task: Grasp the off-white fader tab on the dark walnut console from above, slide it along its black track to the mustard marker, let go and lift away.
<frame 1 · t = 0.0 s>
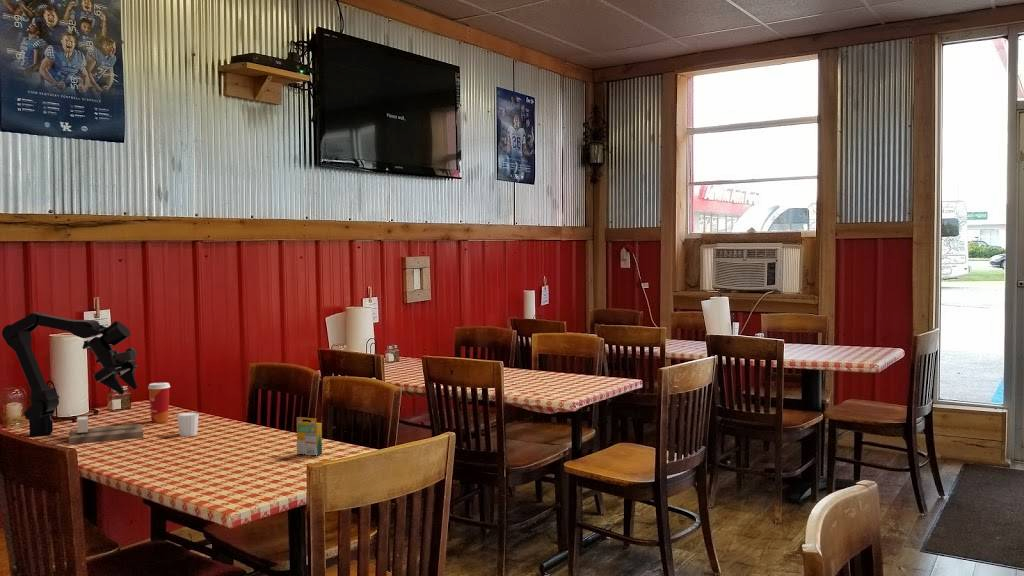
hand: (129, 391, 279), 15 cm above the table, tool tilted 35°, fingers open, 9 cm apart
crayon box: (309, 455, 250), on the table
paper cup: (159, 422, 301), on the table
white tapered cup: (188, 434, 279), on the table
fader tab: (82, 425, 272), point 5 cm above the table, slide at -7.0 cm
fader console: (106, 436, 276), on the table
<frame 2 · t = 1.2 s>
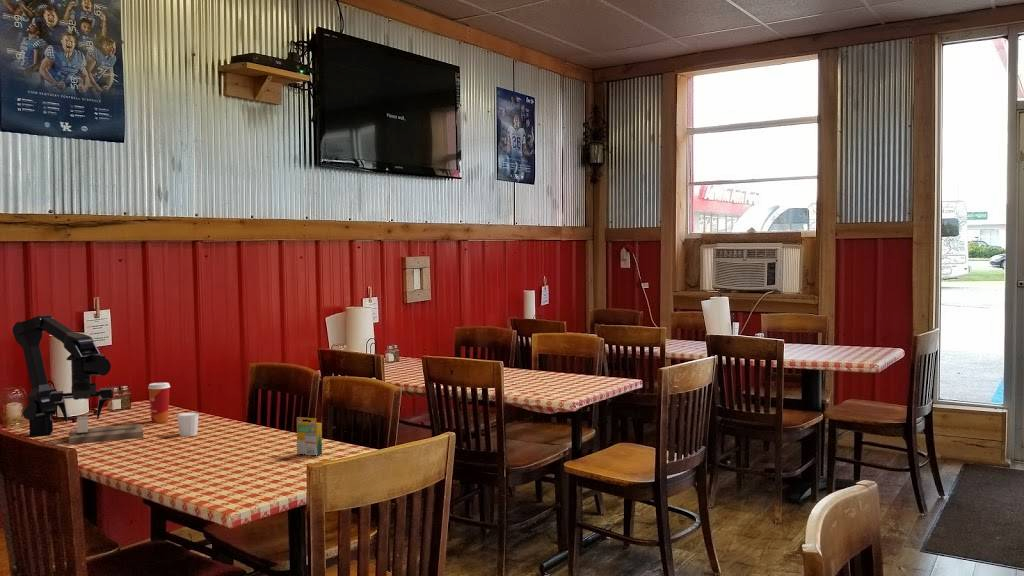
hand: (82, 420, 272), 6 cm above the table, tool pointing down, fingers open, 9 cm apart
nothing on the table moved.
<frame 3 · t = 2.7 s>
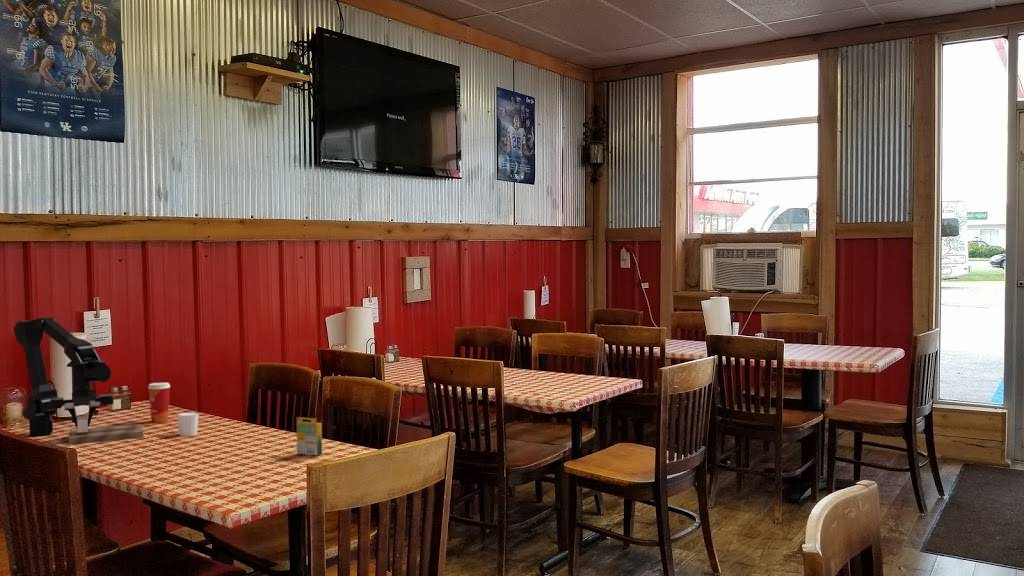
hand: (82, 427, 272), 4 cm above the table, tool pointing down, fingers closed on fader tab, 3 cm apart
fader tab: (82, 425, 272), point 5 cm above the table, slide at -7.0 cm, touching gripper
everything else where it was.
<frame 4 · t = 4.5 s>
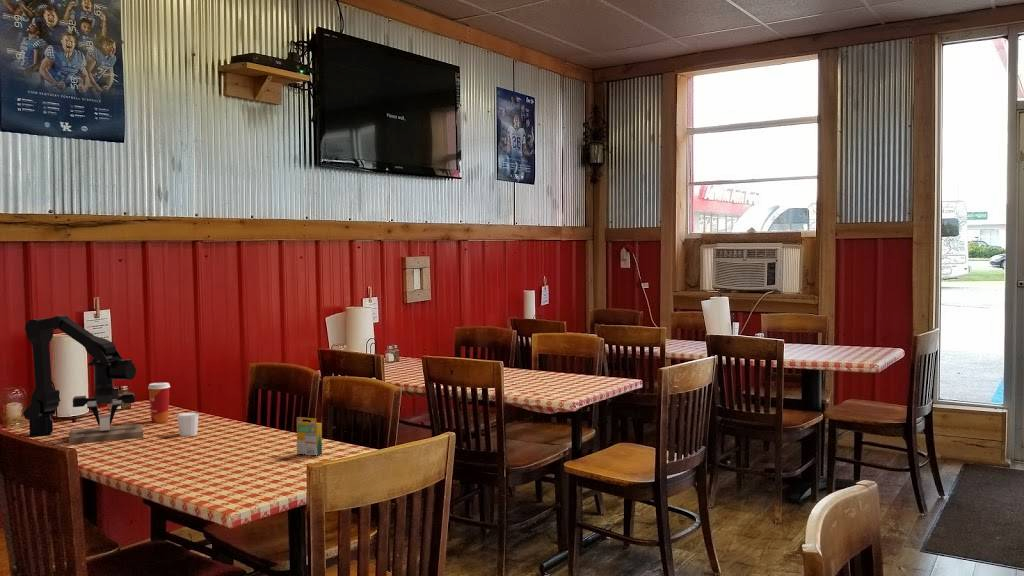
hand: (104, 425, 275), 4 cm above the table, tool pointing down, fingers closed on fader tab, 3 cm apart
fader tab: (104, 423, 275), point 5 cm above the table, slide at -0.4 cm, touching gripper
everything else where it was.
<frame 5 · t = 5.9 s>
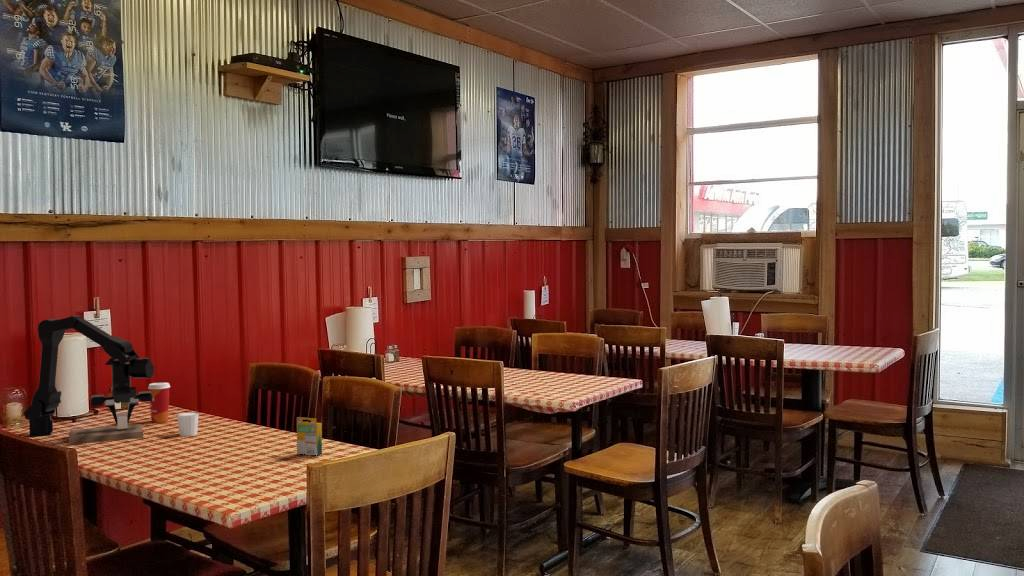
hand: (122, 423, 278), 4 cm above the table, tool pointing down, fingers closed on fader tab, 3 cm apart
fader tab: (122, 421, 278), point 5 cm above the table, slide at 4.9 cm, touching gripper
everything else where it was.
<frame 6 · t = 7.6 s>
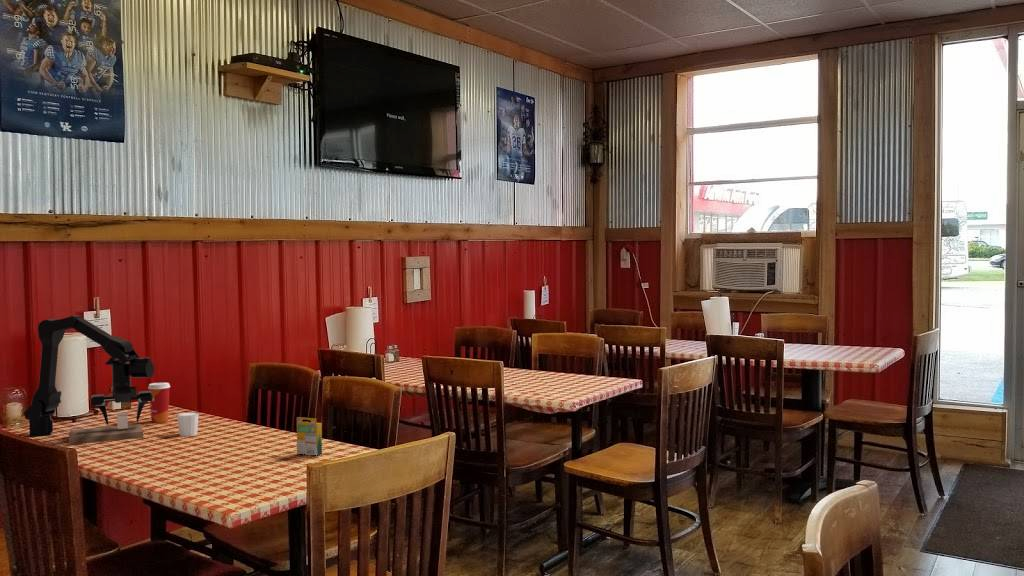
hand: (122, 423, 278), 4 cm above the table, tool pointing down, fingers open, 9 cm apart
fader tab: (122, 421, 278), point 5 cm above the table, slide at 5.0 cm
everything else where it was.
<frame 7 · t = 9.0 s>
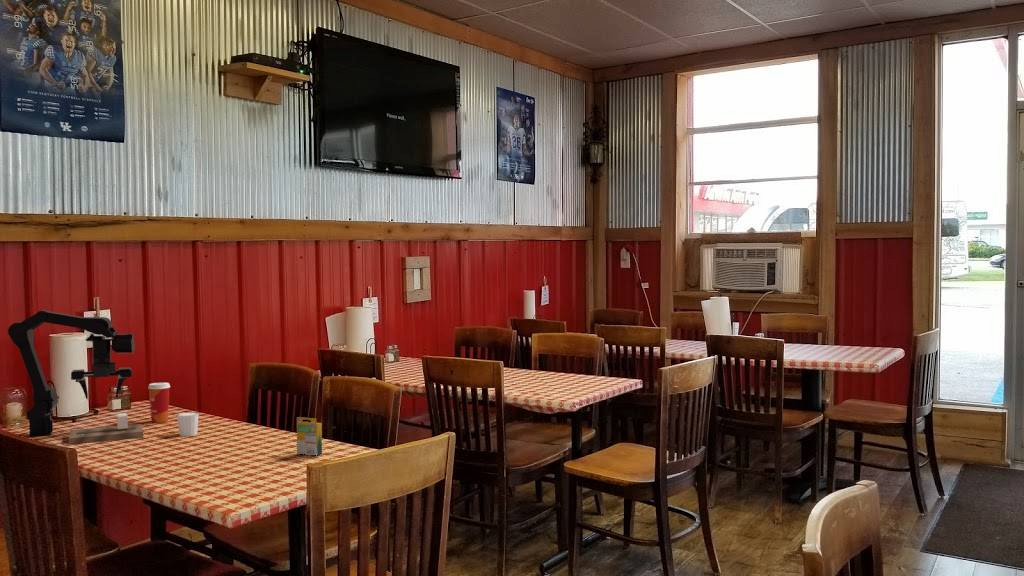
hand: (101, 398, 284), 12 cm above the table, tool pointing down, fingers open, 9 cm apart
nothing on the table moved.
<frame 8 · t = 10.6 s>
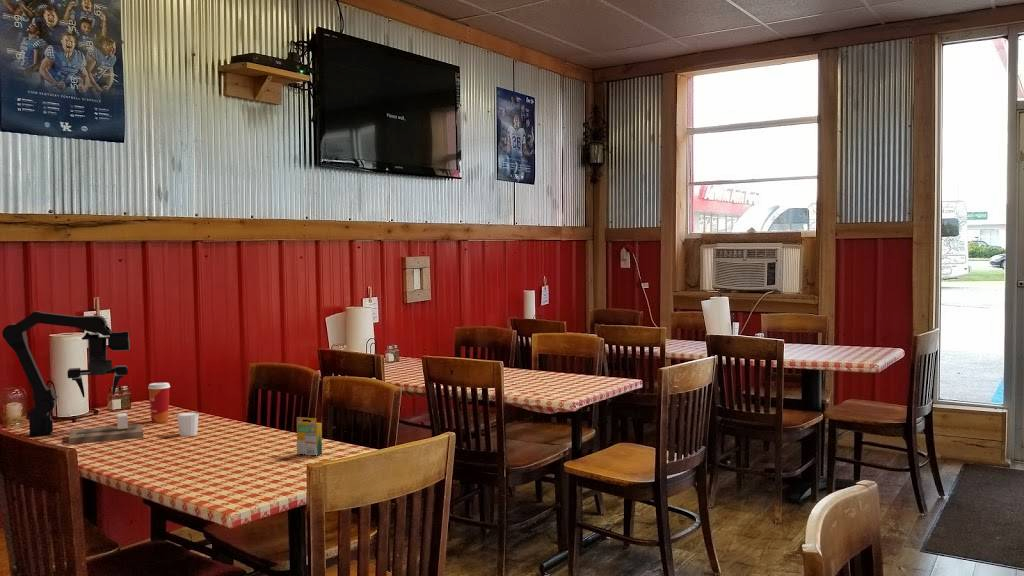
hand: (98, 396, 286), 12 cm above the table, tool pointing down, fingers open, 9 cm apart
nothing on the table moved.
at the end: fader tab slide at 5.0 cm; the gripper is holding nothing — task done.
